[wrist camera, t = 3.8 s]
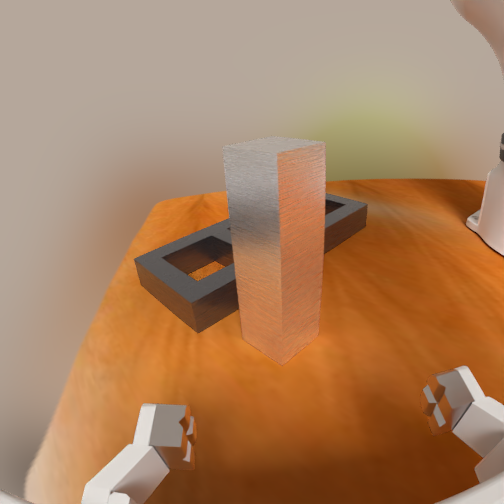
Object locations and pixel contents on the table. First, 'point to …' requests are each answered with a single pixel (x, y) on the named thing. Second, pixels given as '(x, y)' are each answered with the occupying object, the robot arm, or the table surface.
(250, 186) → the post
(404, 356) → the table surface
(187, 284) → the dark grey flat frame
